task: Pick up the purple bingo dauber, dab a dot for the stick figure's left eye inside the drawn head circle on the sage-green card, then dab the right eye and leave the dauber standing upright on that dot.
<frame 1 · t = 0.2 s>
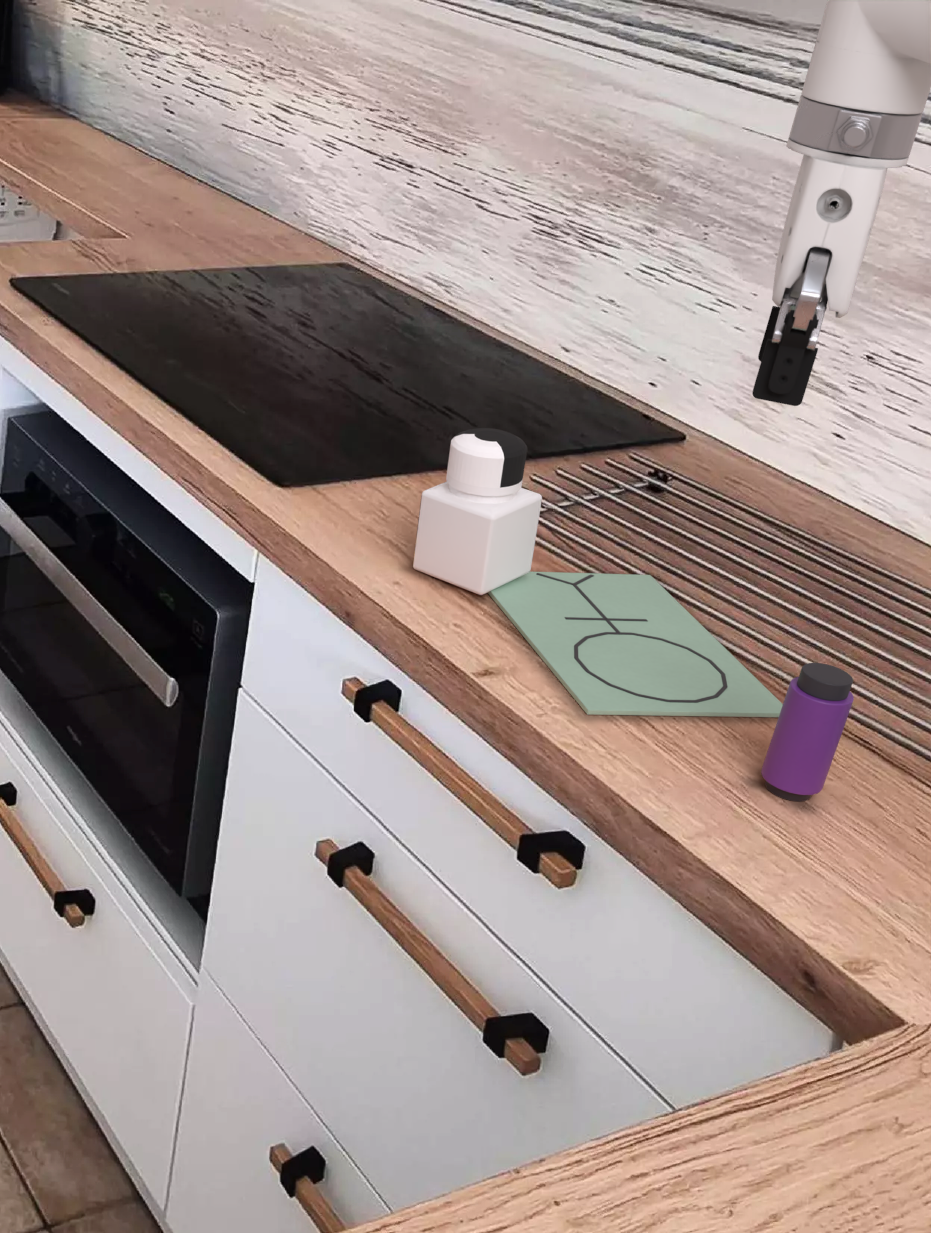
hand: (777, 382, 124), 23 cm above the table, tool pointing down, fingers open, 9 cm apart
sketch card: (620, 641, 139), on the table
medicine bottle: (470, 573, 148), on the table, touching sketch card
dauber: (788, 789, 120), on the table
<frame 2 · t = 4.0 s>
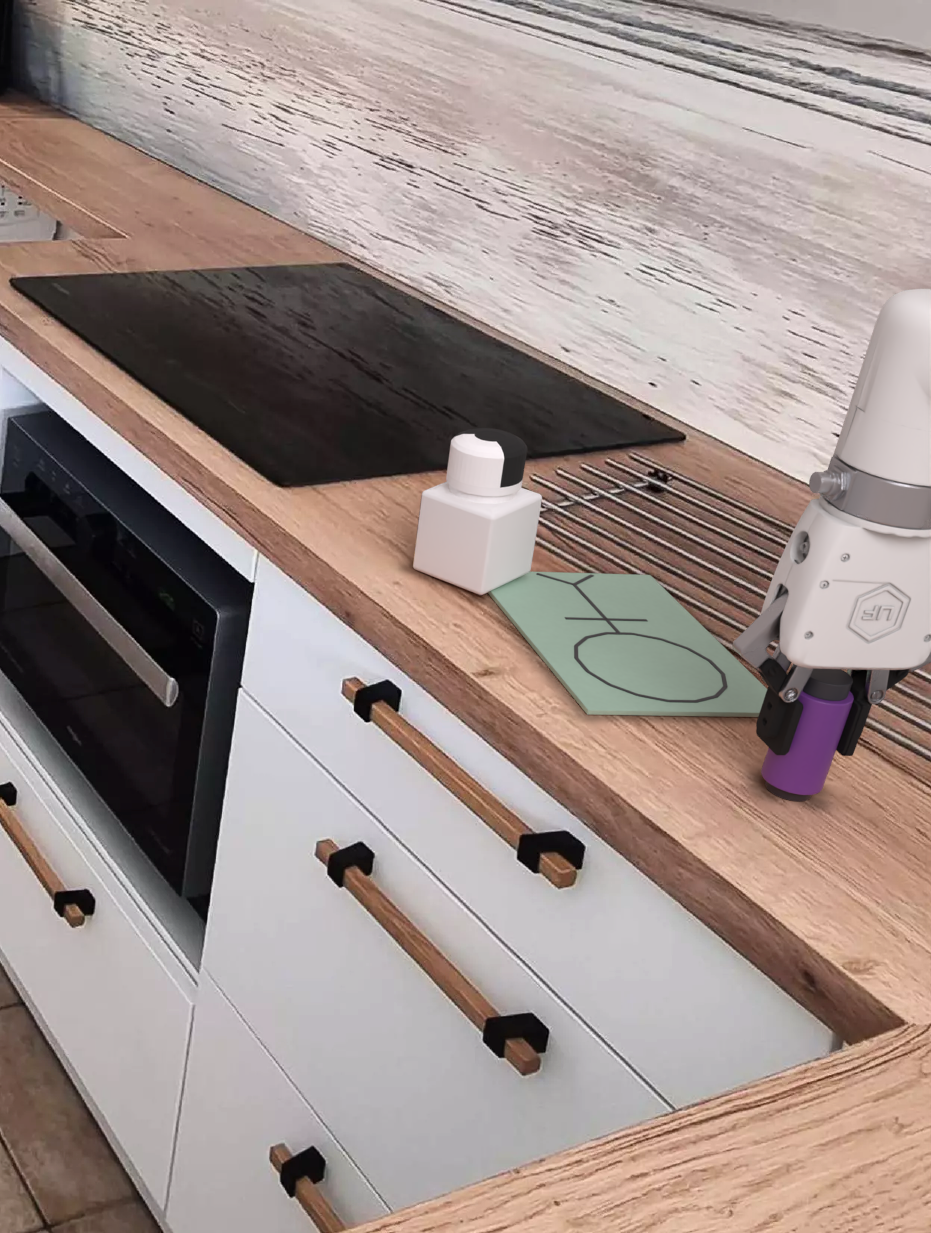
hand: (803, 743, 118), 4 cm above the table, tool pointing down, fingers closed on dauber, 4 cm apart
dauber: (787, 789, 120), on the table, touching gripper
everything else where it was.
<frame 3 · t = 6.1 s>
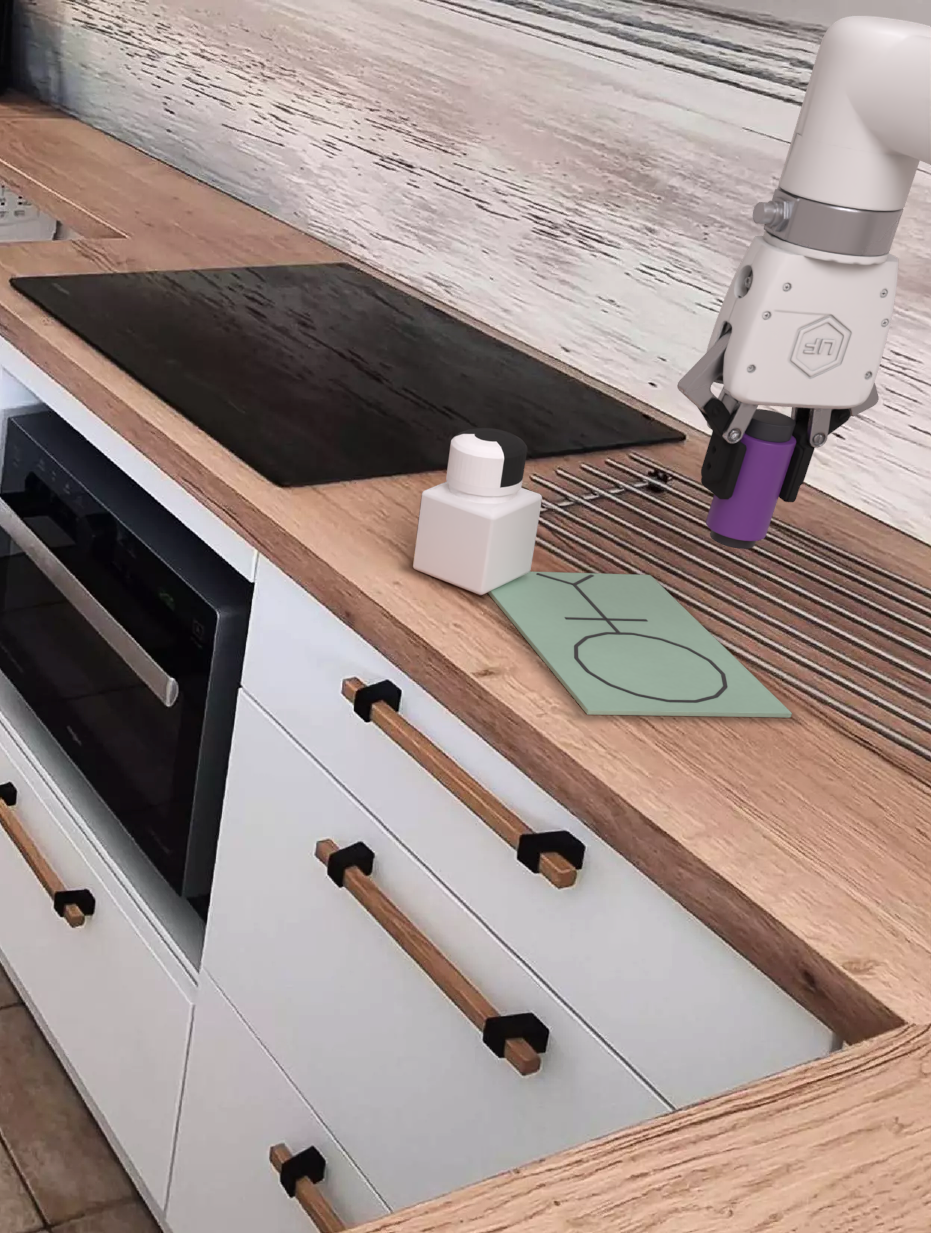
hand: (747, 490, 120), 18 cm above the table, tool pointing down, fingers closed on dauber, 4 cm apart
dauber: (732, 540, 122), point 14 cm above the table, touching gripper
everything else where it was.
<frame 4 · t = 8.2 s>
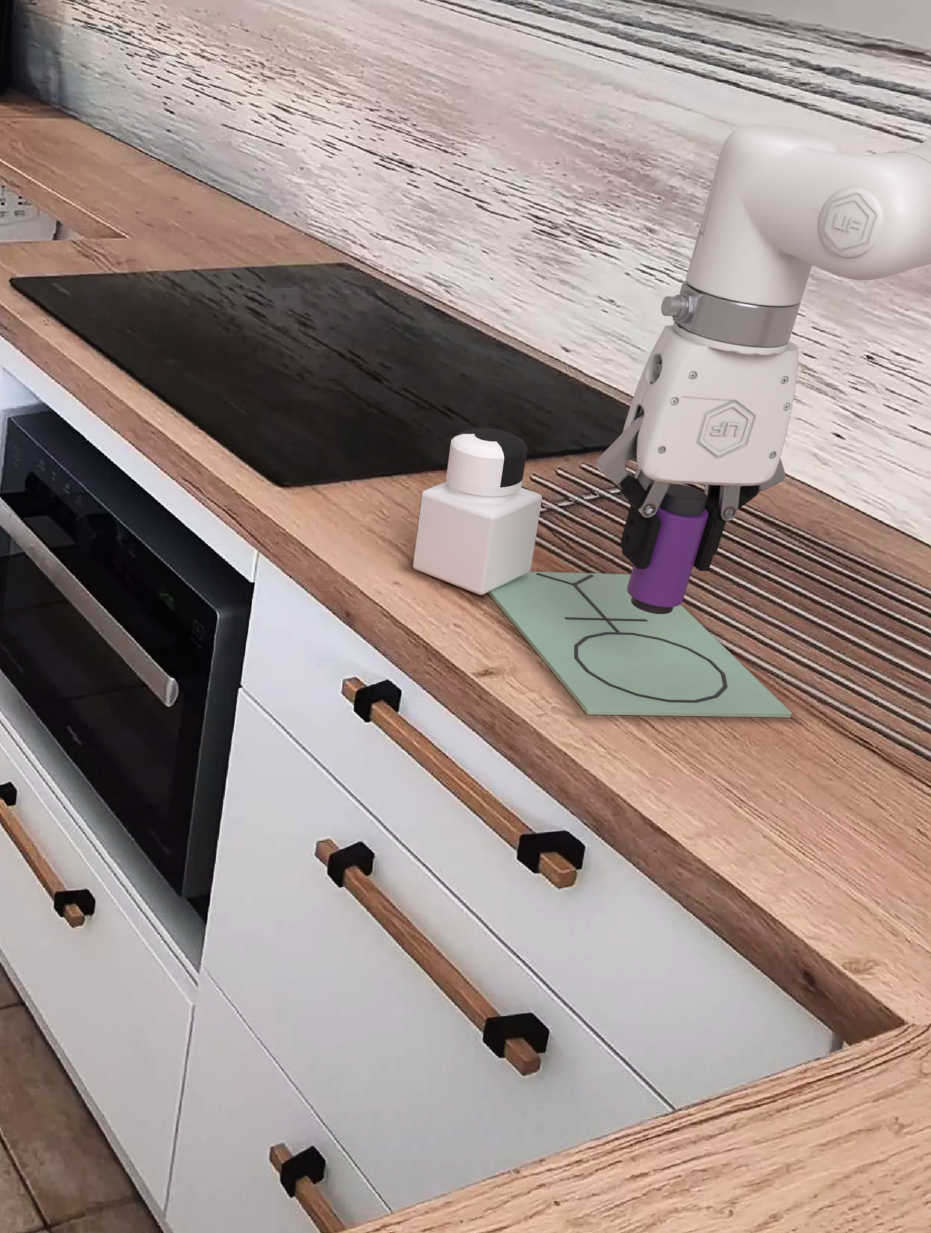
hand: (664, 559, 128), 10 cm above the table, tool pointing down, fingers closed on dauber, 4 cm apart
dauber: (651, 605, 129), point 6 cm above the table, touching gripper
everything else where it was.
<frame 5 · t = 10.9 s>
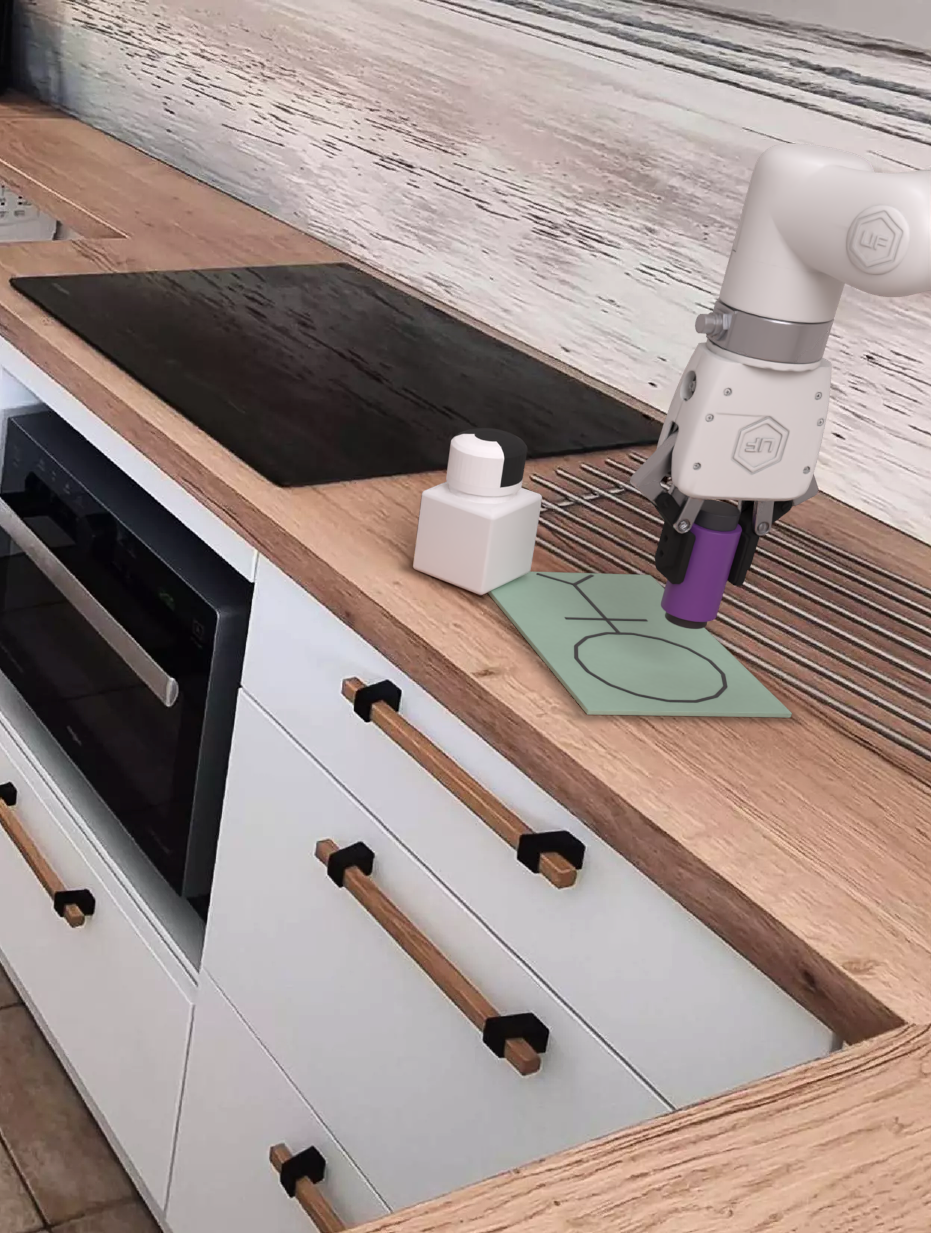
hand: (698, 574, 128), 9 cm above the table, tool pointing down, fingers closed on dauber, 4 cm apart
dauber: (685, 620, 130), point 5 cm above the table, touching gripper
everything else where it was.
when the fingers open (4 cm above the table, at t = 12.5 s): dauber stays where it is, resting on sketch card.
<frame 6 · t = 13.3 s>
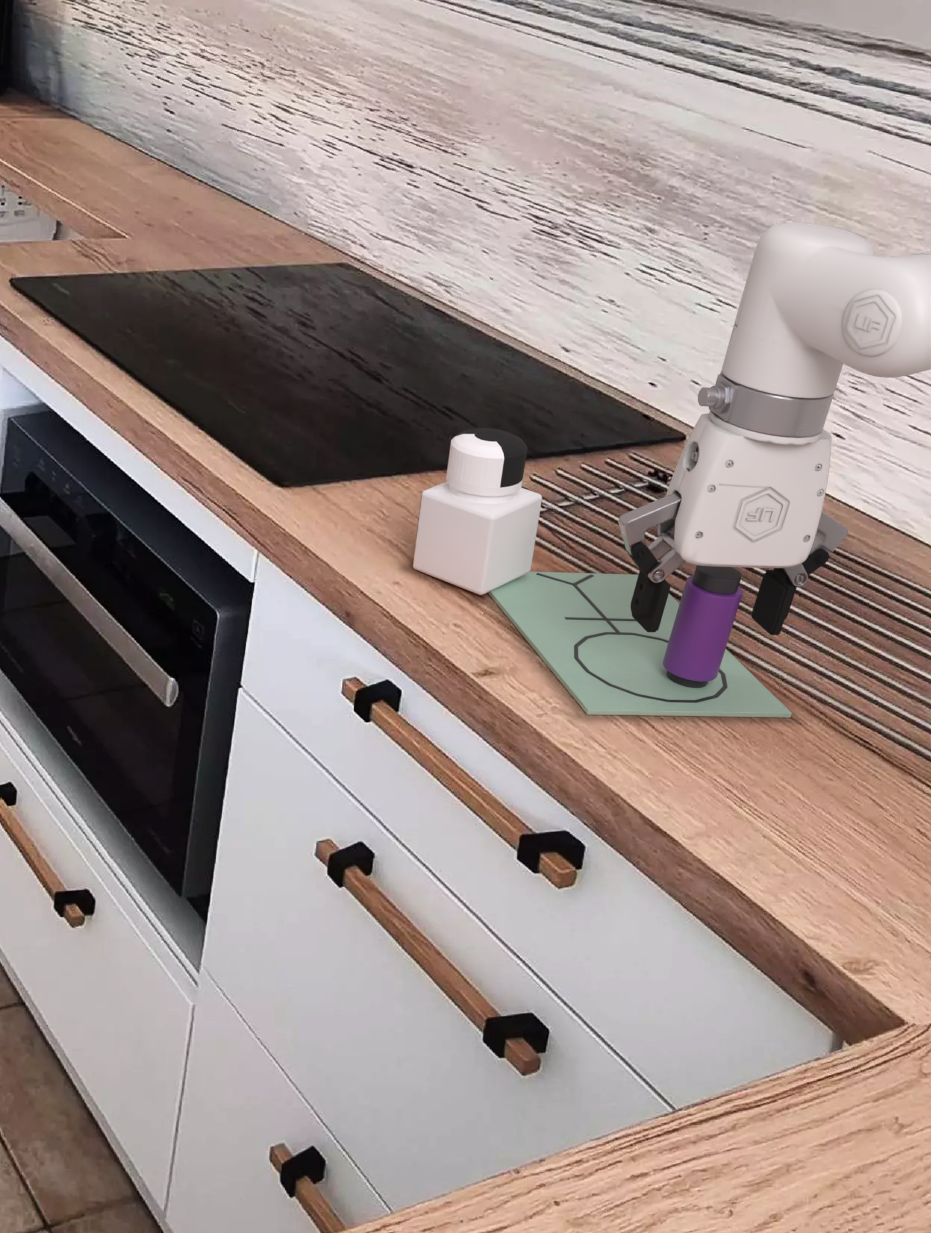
hand: (704, 625, 131), 5 cm above the table, tool pointing down, fingers open, 9 cm apart
dauber: (686, 678, 133), resting on sketch card
everything else where it was.
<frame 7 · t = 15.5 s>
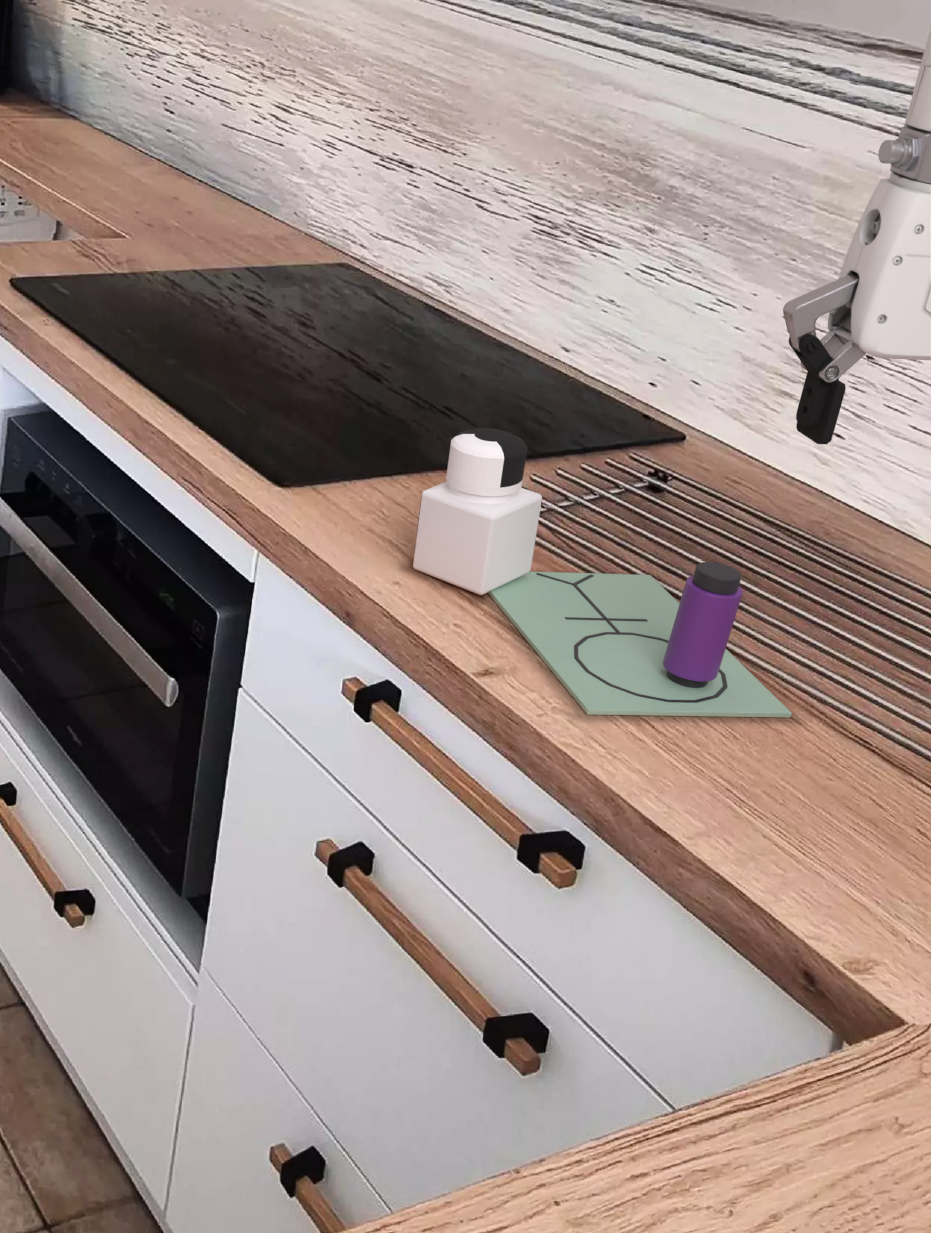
hand: (883, 439, 112), 24 cm above the table, tool pointing down, fingers open, 9 cm apart
nothing on the table moved.
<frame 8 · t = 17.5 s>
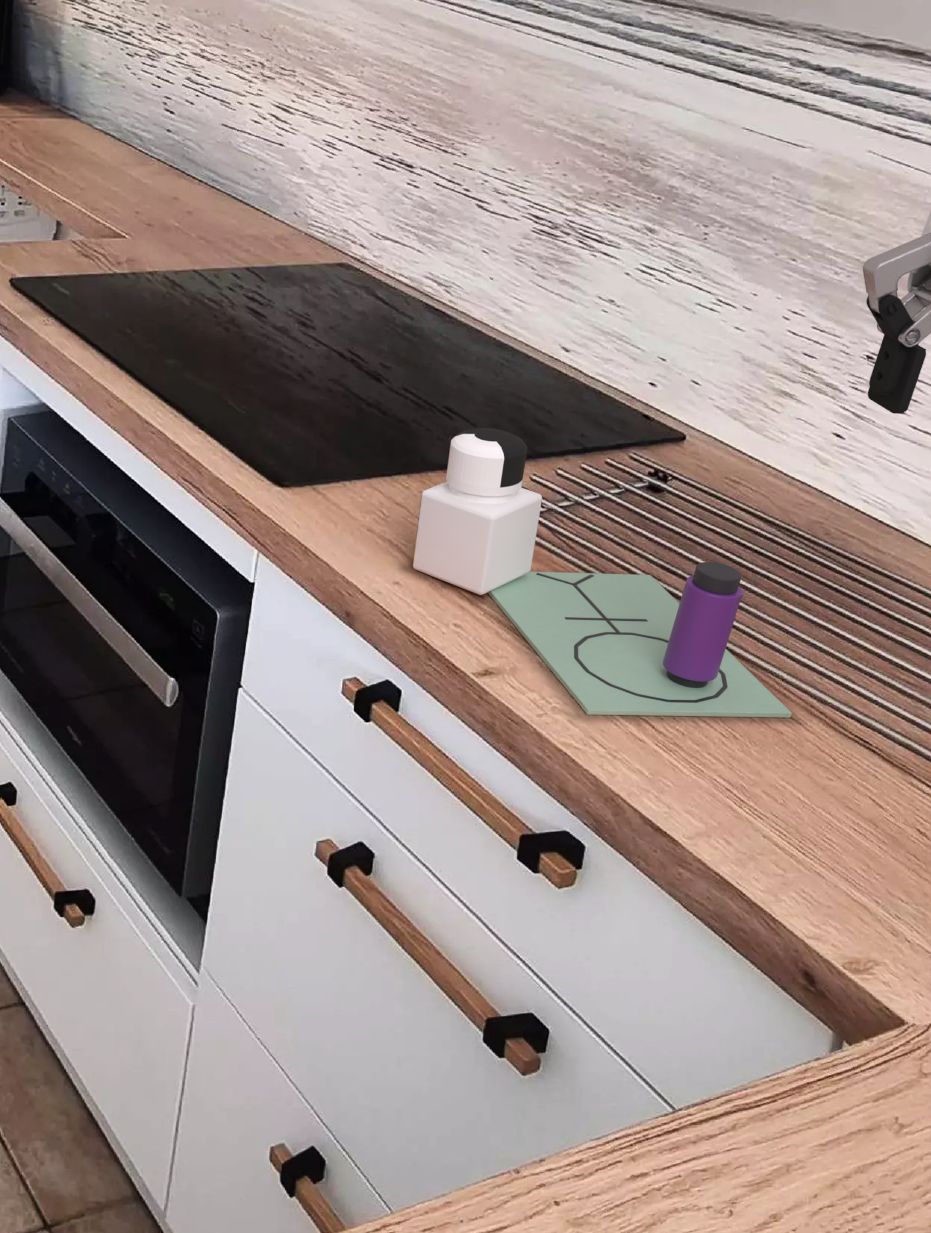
nothing on the table moved.
at the end: dauber 0.1 cm from the target spot on the sketch card, point 0.4 cm above the sketch card's base; dauber tilted 0°; the gripper is holding nothing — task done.
